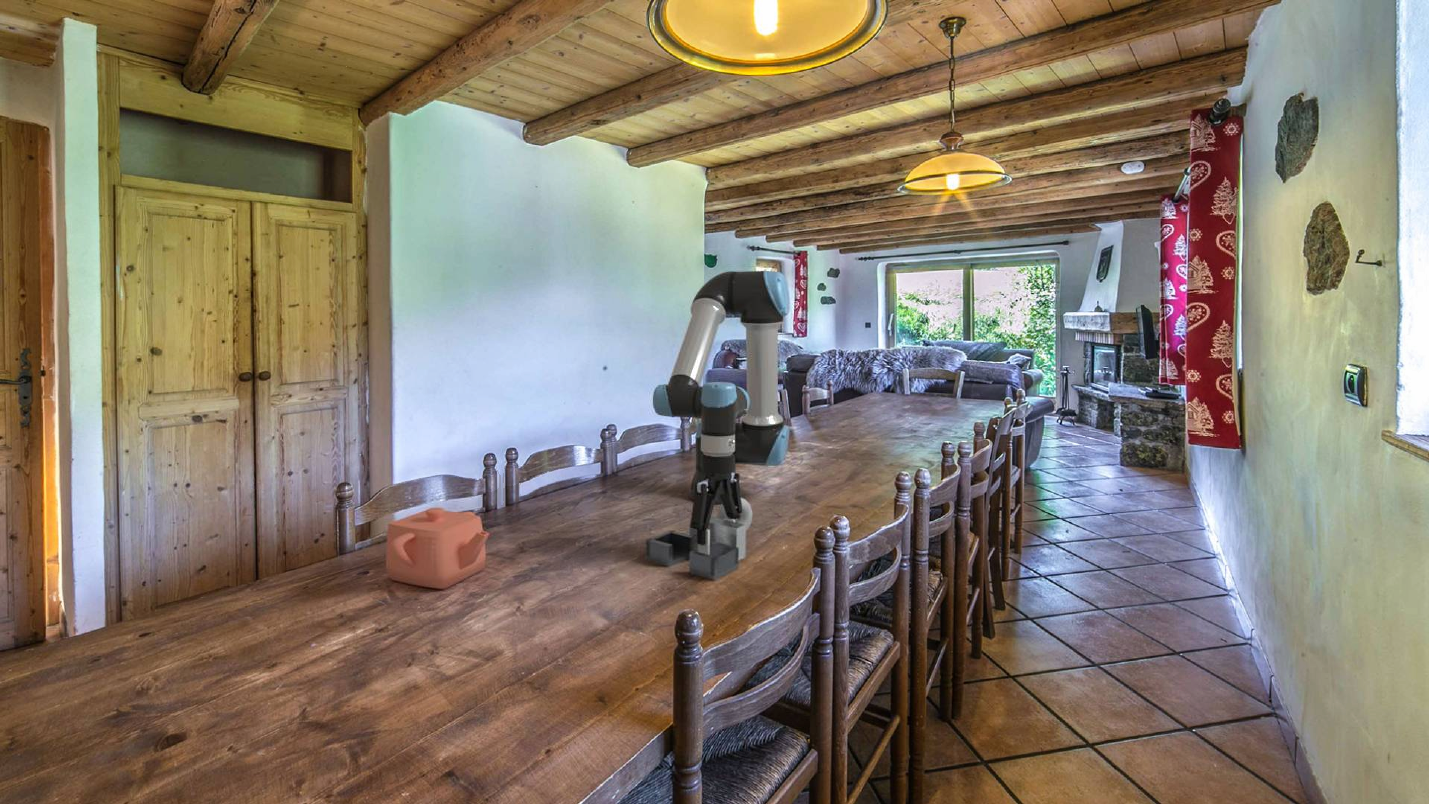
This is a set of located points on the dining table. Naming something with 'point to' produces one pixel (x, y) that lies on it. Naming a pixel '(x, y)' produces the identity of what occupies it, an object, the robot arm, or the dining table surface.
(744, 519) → the donut
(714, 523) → the light grey block
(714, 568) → the end link
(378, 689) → the dining table surface
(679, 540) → the end link
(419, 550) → the teapot
